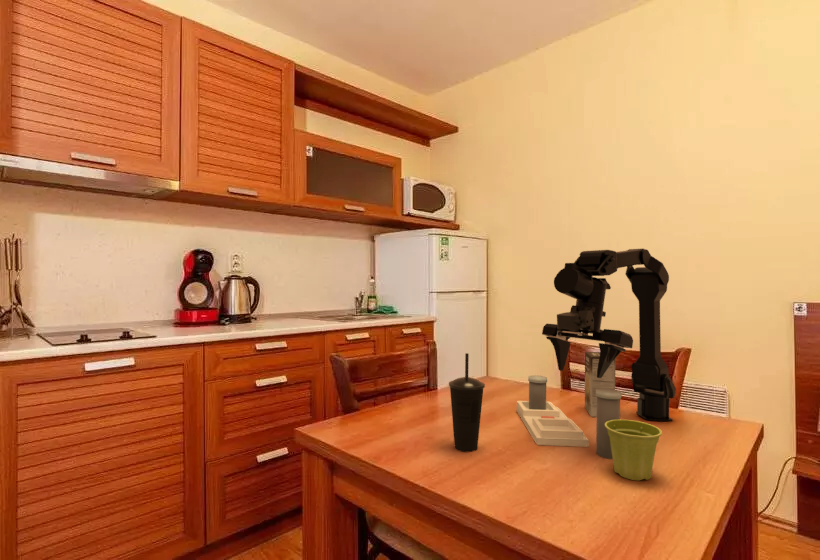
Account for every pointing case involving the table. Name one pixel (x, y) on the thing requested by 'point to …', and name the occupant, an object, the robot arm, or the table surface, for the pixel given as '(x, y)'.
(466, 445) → the drinking cup
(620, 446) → the plant pot
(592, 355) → the coffee box
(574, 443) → the peg insertion board
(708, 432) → the table surface
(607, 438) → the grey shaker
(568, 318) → the robot arm
